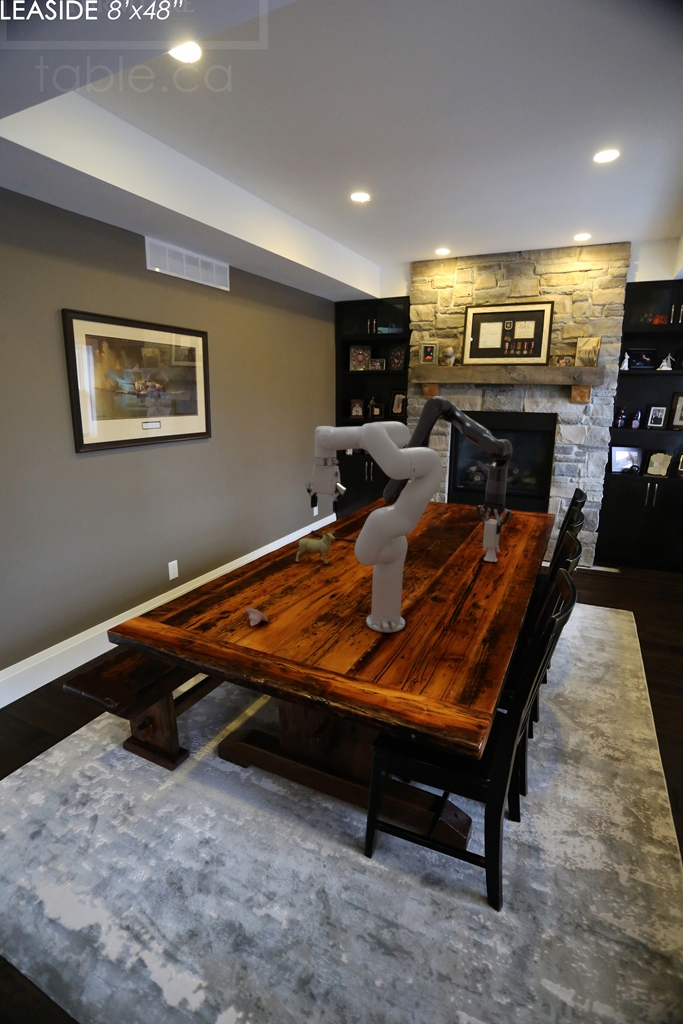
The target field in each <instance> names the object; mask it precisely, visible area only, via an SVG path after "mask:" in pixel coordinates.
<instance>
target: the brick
mask: <svg viewBox="0 0 683 1024" xmlns="http://www.w3.org/2000/svg"><path fill="white" fill-rule="evenodd" d="M496 531H497V520H496V519H493V518H489V520H488V521H486V522H485V525H484V531H483V536H482V547H487V548H488V547H490V548H494V547H495V546H496V545H498V546H499V543H500V533H499V534H498V535H497V534H496ZM495 548H496V547H495Z"/></svg>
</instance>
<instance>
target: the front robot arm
mask: <svg viewBox="0 0 683 1024" xmlns="http://www.w3.org/2000/svg"><path fill="white" fill-rule="evenodd" d="M410 439H411V433H410V430H409V427H408V426H407V425H405V424H404V423H402V422H401V421H374V422H368V423H364V424H363V425H362V426H359V425H358V426H338V427H337V426H336V427H334V426H332V425H319V426H316V427H315V430H314V464H313V467H312V471H311V479H310V481H308V482H306V483H305V484H304V486H305V489H306V492H307V494H308V495H309V497H310V508H311V509H314V508H317V507H318V505H319V504H318V503H319V501H318V500H319V498H318V494H321V495H328V496H331V497H332V499H333V500H332V513H336V512H339V511H340V508H341V505H340V504H341V500H342V499H343V498H344V497H345V494H346V492H347V488H346V487H344V486H343V485H342V484H341V474H340V469H339V466H338V464H339V463H340V462H339V459H337V451H342V450H356V449H357V450H358V449H362V450H365V451H367V452H368V453H369V455H370V456H371V458H372V459H373V460H374V461H375V462H376V464H377V465H378V466H379V468H380V469H381V470H382V471H383V472H384V474H385V475H386V476H388V477H389V478H390V479H391V478H392V479H396V480H401V479H408V478H410V479H411V481H409V482H408V483H407V485H406V487H405V488H404V489H403V490H402V492H401V494H400V496H399V498H398V500H397V501H396V503H395V504H393V505H391V506H389V505H388V506H383V507H379V508H377V509H375V510H373V511H372V512H370V514H369V515H368V516H367V518H366V519H365V523H364V524H363V527H362V528H361V531H360V532H359V534H358V537H357V539H356V540H357V541H356V542H355V545H354V556H355V558H356V560H357V561H358V563H359V564H361V565H362V566H364V567H365V566H366V567H371V566H373V570H372V585H371V586H372V587H371V607H370V609H371V613H370V615H368V616H367V617H366V621H365V622H366V623H365V624H366V625H367V627H368V628H369V629H372V630H373V631H376V632H379V633H396V632H398V631H402V630H403V629H404V628H405V626H406V620H405V618H403V617H402V615H401V614H402V599H403V598H402V597H403V580H404V567H405V562H406V557H407V554H408V545H409V544H408V540H407V537H406V536H408V535H410V534H411V533H413V531H414V530H415V529H416V527H417V525H418V523H419V522H420V520H421V519H422V516H423V515H424V513H425V511H426V509H427V507H428V505H429V503H430V502H431V500H432V499H433V498H434V496H435V495H436V493H437V491H438V490H439V488H440V486H441V484H442V480H443V476H444V466H443V461H442V458H441V456H440V454H439V453H438V452H437V451H436V450H435V449H432V448H430V447H429V448H426V447H414V448H406V446H407V444H408V443H409V441H410ZM404 447H405V448H404Z"/></svg>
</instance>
